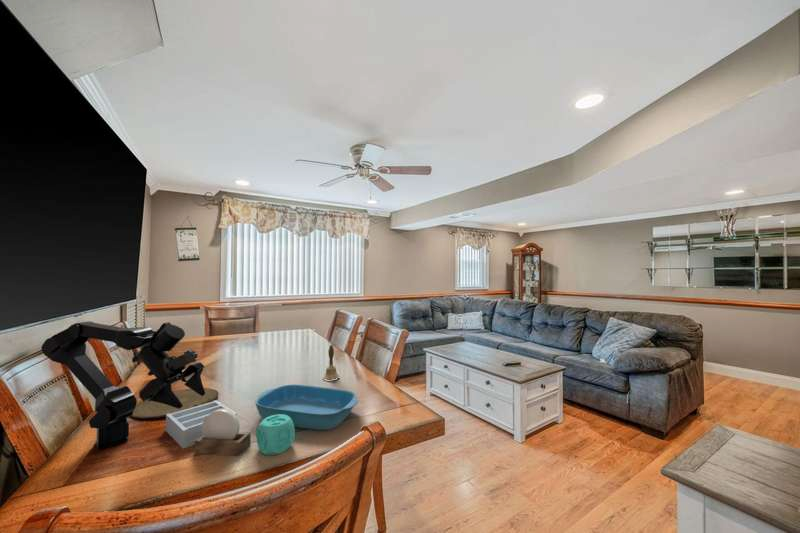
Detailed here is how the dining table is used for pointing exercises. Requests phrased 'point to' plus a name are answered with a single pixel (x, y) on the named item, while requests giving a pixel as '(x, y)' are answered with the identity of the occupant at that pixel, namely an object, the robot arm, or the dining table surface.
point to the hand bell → (331, 366)
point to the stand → (223, 445)
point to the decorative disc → (160, 410)
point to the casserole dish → (307, 405)
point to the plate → (221, 425)
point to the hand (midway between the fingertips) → (193, 400)
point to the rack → (190, 423)
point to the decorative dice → (275, 434)
